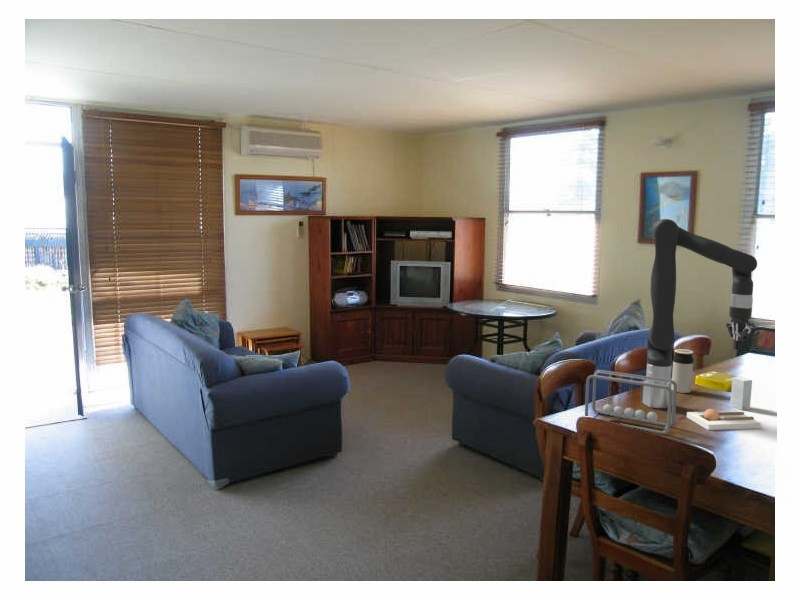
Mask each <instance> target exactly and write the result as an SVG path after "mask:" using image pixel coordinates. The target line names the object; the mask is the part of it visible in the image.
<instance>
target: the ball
mask: <svg viewBox="0 0 800 600" xmlns="http://www.w3.org/2000/svg"><path fill="white" fill-rule="evenodd" d="M717 411H718V410H716V409H714V408H708V409H706V410H705V411H703V412H704V418H705V419H706V420H707V421H717V420H718V418H719V414H718V412H717Z"/></svg>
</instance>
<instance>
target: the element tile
mask: <svg viewBox="0 0 800 600" xmlns="http://www.w3.org/2000/svg"><path fill="white" fill-rule="evenodd" d="M733 377H738V376H737V375H732V374H727V373H723V372H719V371H711V370H710V371H707V372H704V373H701V374H700V373H699V374H696V375H695V380H694V384H695V385H696V384H697V386H700V387H705V388H708V389H712V390H717V391H720V392H721V391H722V392H731V390H732V378H733Z"/></svg>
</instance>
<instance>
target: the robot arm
mask: <svg viewBox="0 0 800 600" xmlns="http://www.w3.org/2000/svg"><path fill="white" fill-rule="evenodd" d="M650 231H651V235H652V237H653V239H654V247H655V249H654V251H655V252H654V253H655V255H654V262H653V265H652V271H651V276H650V298H651V299H650V300H651V305H652V306H651V307H652V316H653V317H652V324H651V327H650V328H649V330H648V334H647V343H646V344H647V345H646V346H647V347H646V360H647V361H646V375H645V376H648V377H655V378H662V379H669V380H672V370H673V355H672V348H673V344H674V342H675V338H676V337H675V327H674V311H675V304H676V303H675V302H676V294H677V293H676V291H677V262H676V261H677V260H676V254H677V246H678V247H682V248H685V249H687V250H689V251H692V252H694V253H695V254H698V255H699V256H702V257H704V258H705V259H709V260H711V261H713V262H716V263H719V264H722V265H725V266H728V267H729V268H731V272H732V273H731V274H732V286H731V295H730V301H729V302H730V303H729V312H728V316H729V318H731V319H730V322H728V323H725V324H726V325H725V326H726V328H727V330H728V333H729V336H730V338H732V339H733V350H735V351H740V350H742V347H743V341H747V339H748V338H749V337H750V335H751V334H752V333H753V331H754V330H753V328H750V326H749V325H750V322H749V320H750V319H752V313H753V304H754V303H753V301H754V300H753V293H754V292H753V291H754V280H752V272H754V271H755V270H756V269H757V267H758V261H757V259H756V258H755V256H753V255H751V254H749V253H746V252H743V251H740V250H737V249H735V248H732V247H730V246H728V245H726V244H723V243H721V242H719V241H716V240H714V239H710V238H707V237H704V236H701V235H698V234H695V233H693V232H690V231H688V230H685V229H684V228H682V227H680V226H678V224H677V222H676V221H675V220H672V219H669V218H661V219H658V220H657V221H655V222H654V223H653V225H652V226H651V230H650ZM644 382H645V383H652V384H654V381H652V380H644ZM655 384H659V385H667V384H668V383H666V382H659V381H655ZM671 385H672V383H670V384H669V385H668V387H670V388H671ZM642 388H643V393H642V403H641V404H643V405H645V406H647V407H648V408H652V409H654V408H655V409H668V399H669V391H668V390H667V389H662V388H655V387H649V386H642ZM653 394H654V401H653Z"/></svg>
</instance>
